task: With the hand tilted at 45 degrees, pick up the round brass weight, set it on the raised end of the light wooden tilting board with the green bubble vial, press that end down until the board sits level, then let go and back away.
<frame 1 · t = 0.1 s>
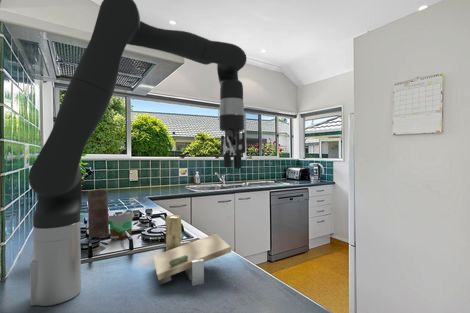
hand: (232, 167, 78), 29 cm above the countertop, tool pointing down, fingers open, 8 cm apart
tilting board: (190, 253, 73), point 5 cm above the countertop, hinge at 12.0°
board stand: (191, 271, 73), on the countertop
food container: (125, 237, 105), on the countertop
brass weight: (173, 251, 89), on the countertop
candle: (98, 237, 105), on the countertop
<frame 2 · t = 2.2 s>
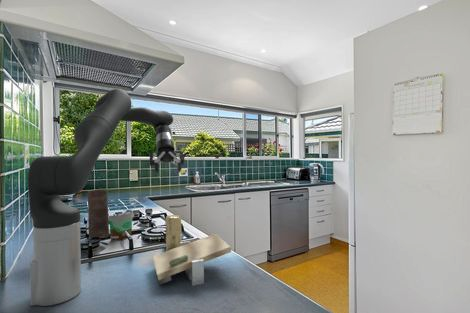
hand: (168, 171, 104), 27 cm above the countertop, tool tilted 45°, fingers open, 8 cm apart
nothing on the countertop moved.
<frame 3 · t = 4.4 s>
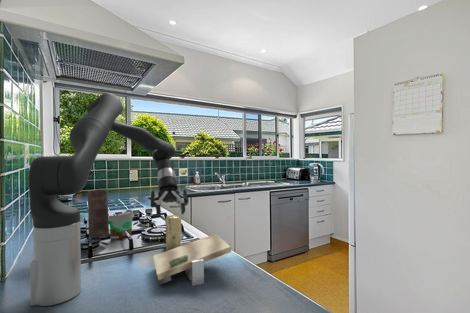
hand: (171, 214, 96), 11 cm above the countertop, tool tilted 45°, fingers open, 8 cm apart
nothing on the countertop moved.
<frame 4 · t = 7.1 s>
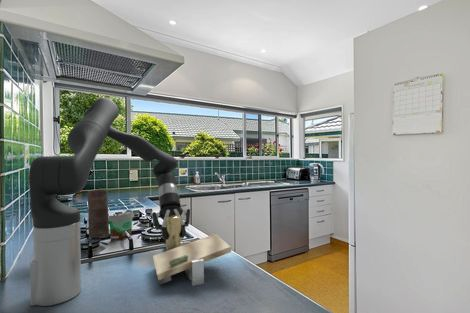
hand: (174, 237, 88), 5 cm above the countertop, tool tilted 45°, fingers closed on brass weight, 5 cm apart
brass weight: (173, 251, 89), on the countertop, touching gripper
everything else where it was.
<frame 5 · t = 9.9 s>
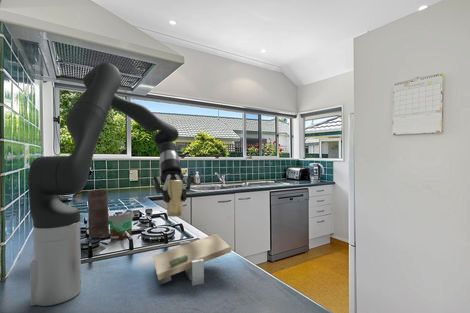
hand: (175, 200, 87), 18 cm above the countertop, tool tilted 45°, fingers closed on brass weight, 5 cm apart
brass weight: (174, 214, 89), point 13 cm above the countertop, touching gripper
everything else where it was.
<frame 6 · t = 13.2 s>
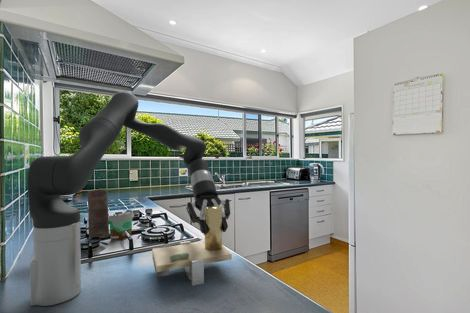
hand: (215, 231, 74), 11 cm above the countertop, tool tilted 45°, fingers closed on brass weight, 5 cm apart
tilting board: (190, 253, 73), point 5 cm above the countertop, hinge at -0.1°, touching brass weight
brass weight: (213, 247, 76), point 6 cm above the countertop, touching gripper, tilting board
everything else where it was.
when the fingers open (11 cm above the countertop, at t = 13.2 s): brass weight stays where it is, resting on tilting board.
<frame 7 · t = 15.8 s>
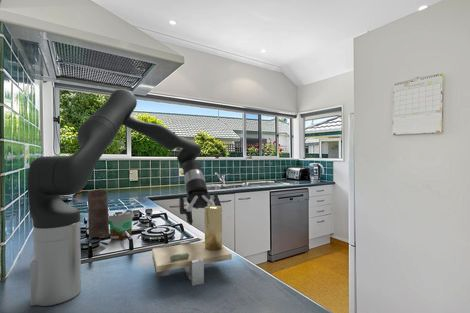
hand: (203, 222, 85), 11 cm above the countertop, tool tilted 45°, fingers open, 8 cm apart
brass weight: (213, 247, 76), point 6 cm above the countertop, touching tilting board
everything else where it was.
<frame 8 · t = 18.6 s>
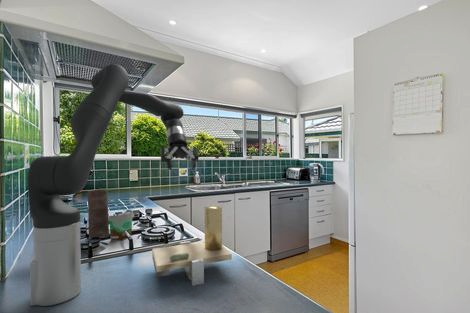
hand: (182, 168, 95), 29 cm above the countertop, tool tilted 45°, fingers open, 8 cm apart
nothing on the countertop moved.
at the end: tilting board at +0° (first picture: +12°); brass weight inside the target area on the tilting board (0.4 cm from its centre), point 0.7 cm above the tilting board's base; brass weight tilted 0° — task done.
